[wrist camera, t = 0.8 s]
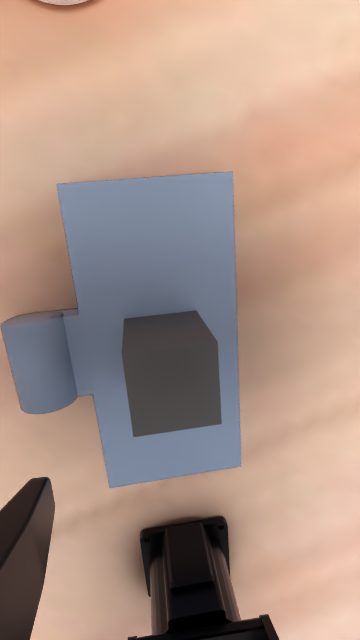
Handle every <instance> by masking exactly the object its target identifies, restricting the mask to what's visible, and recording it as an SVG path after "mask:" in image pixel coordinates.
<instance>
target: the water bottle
mask: <svg viewBox="0 0 360 640" xmlns="http://www.w3.org/2000/svg"><path fill="white" fill-rule="evenodd" d="M39 1H42V2H45V3H50V4H56V5H73V4H78V3H82V2H85V1H88V0H39Z"/></svg>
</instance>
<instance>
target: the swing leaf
mask: <svg viewBox="0 0 360 640" xmlns="http://www.w3.org/2000/svg"><path fill="white" fill-rule="evenodd" d="M57 190H58V195H59V201H60V207H61V212H62V218H63V224H64V230H65V235H66V241H67V247H68V253H69V258H70V264H71V270H72V276H73V281H74V287H75V293H76V298H77V304H78V308H77V309H68V310H59V311H43V312H34V313H29V314H24V315H20V316H17V317H14V318H11V319H8V320H6V321H4V322H3V323H2V324H1V325H0V327H1V331H2V335H3V339H4V343H5V347H6V351H7V355H8V359H9V363H10V367H11V371H12V375H13V379H14V383H15V387H16V391H17V395H18V399H19V403H20V407H21V409H22V411H24V412H26V413H29V414H45V413H50V412H54V411H57V410H60V409H62V408H64V407H66V406H68V405H70V404H71V403H72V402H74V401H75V400H76V398H77V397H78V396H85V395H92V394H93V396H94V402H95V407H96V413H97V419H98V424H99V430H100V436H101V442H102V447H103V453H104V459H105V465H106V470H107V476H108V482H109V488H113V487H119V486H125V485H131V484H137V483H143V482H150V481H156V480H162V479H168V478H174V477H180V476H186V475H192V474H198V473H204V472H210V471H216V470H222V469H228V468H235V467H241V441H240V407H239V373H238V340H237V306H236V272H235V238H234V205H233V171H231V172H217V173H203V174H189V175H175V176H161V177H147V178H133V179H119V180H105V181H91V182H77V183H63V184H57Z"/></svg>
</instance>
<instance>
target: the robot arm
mask: <svg viewBox="0 0 360 640" xmlns="http://www.w3.org/2000/svg"><path fill="white" fill-rule="evenodd" d="M54 513H55V502H54V497H53V491H52V486H51V481H50V479H49V478H48V477H40V478H33V479H31V480H29V481H28V482H27V483H26V484H25V485H24V486H23V487H22V489H21V490H20V491H19V492H18V493H17V494H16V495H15V496H14V497H13V498H12V499H11V500H10V501H9V502H8V503H7V504H6V505H5V506H4V507H3V508H2V509H1V510H0V640H30V637H31V633H32V629H33V625H34V621H35V617H36V613H37V609H38V605H39V601H40V597H41V593H42V589H43V584H44V579H45V573H46V566H47V560H48V553H49V546H50V540H51V533H52V526H53V520H54ZM146 537H147V538H146ZM140 543H141V550H142V557H143V563H144V570H145V577H146V583H147V590H148V595H149V597H151V619H152V635H151V636H145V637H139V638H137V636H133V637H128V640H279V638H278V636H277V633H276V631H275V629H274V627H273V624H272V622H271V620H270V618H269V615H268V614H266V615H260V616H259V618H253V619H247V620H241V618H240V614H239V610H238V607H237V603H236V599H235V595H234V591H233V587H232V583H231V579H230V568H229V547H228V526H227V523H226V520H225V519H224V518H222V517H221V518H213V519H207V520H201V521H195V522H189V523H183V524H177V525H171V526H165V527H159V528H153V529H147V530H144V531H142V532H141V534H140Z"/></svg>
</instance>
